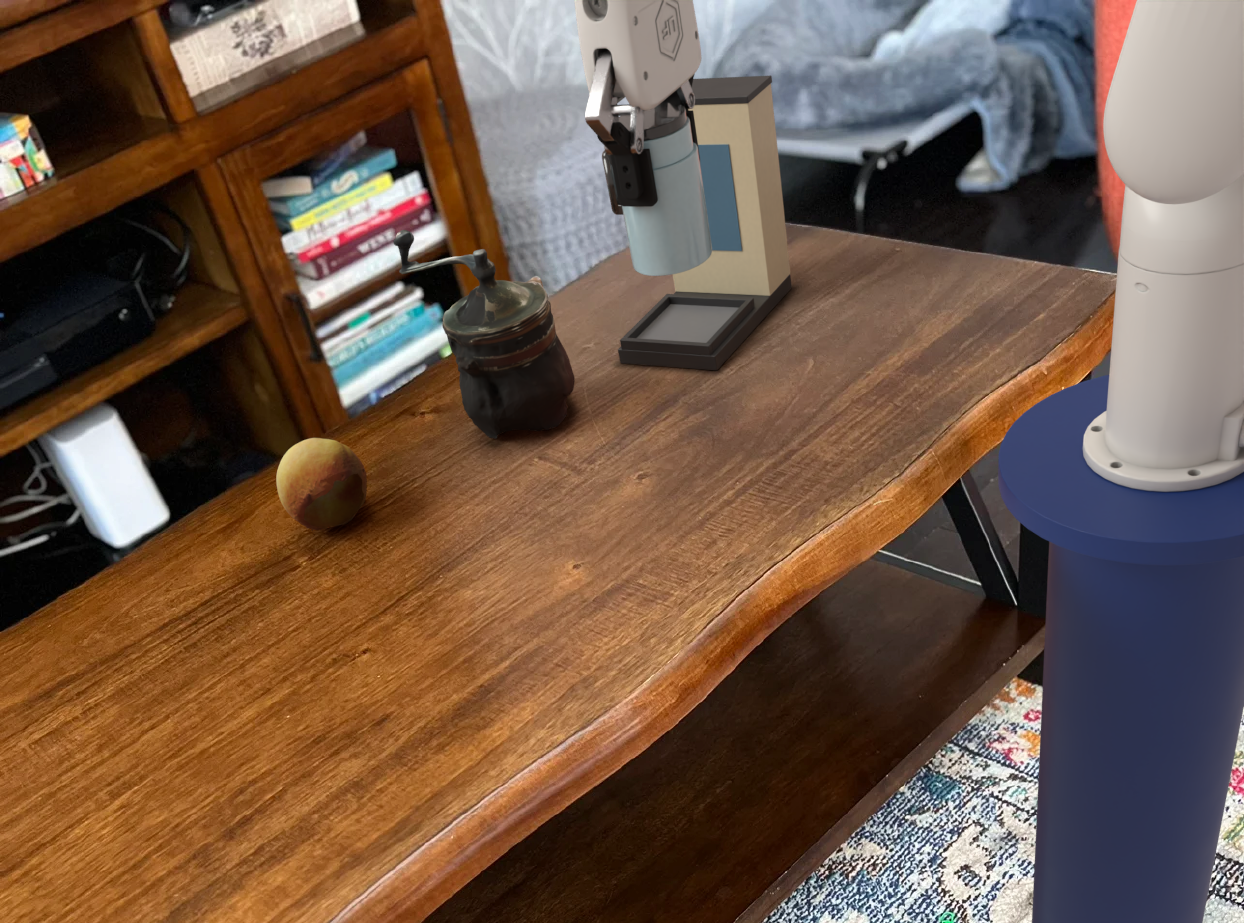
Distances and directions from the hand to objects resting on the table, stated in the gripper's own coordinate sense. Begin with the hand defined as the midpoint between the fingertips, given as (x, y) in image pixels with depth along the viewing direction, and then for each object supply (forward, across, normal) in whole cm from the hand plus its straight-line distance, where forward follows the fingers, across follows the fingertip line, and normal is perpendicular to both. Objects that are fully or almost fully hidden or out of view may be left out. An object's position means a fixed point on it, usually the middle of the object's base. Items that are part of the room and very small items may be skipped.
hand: (660, 183), depth 101 cm
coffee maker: (+22, +20, +9) cm, 31 cm away
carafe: (+6, 0, 0) cm, 6 cm away
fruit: (+22, -20, +28) cm, 41 cm away
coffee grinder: (+22, -1, +20) cm, 30 cm away
